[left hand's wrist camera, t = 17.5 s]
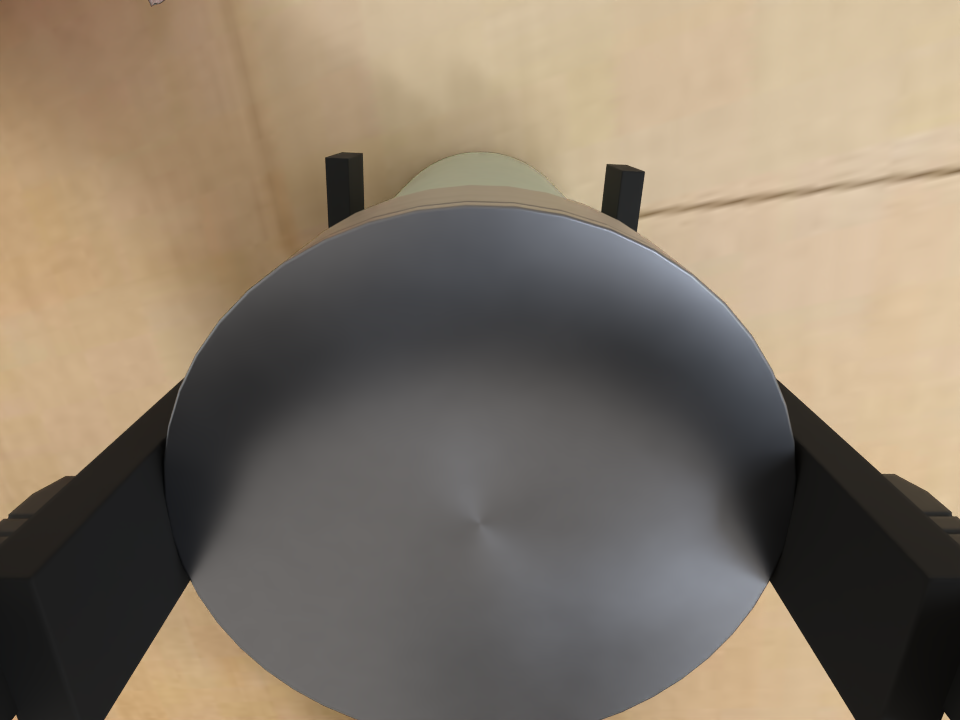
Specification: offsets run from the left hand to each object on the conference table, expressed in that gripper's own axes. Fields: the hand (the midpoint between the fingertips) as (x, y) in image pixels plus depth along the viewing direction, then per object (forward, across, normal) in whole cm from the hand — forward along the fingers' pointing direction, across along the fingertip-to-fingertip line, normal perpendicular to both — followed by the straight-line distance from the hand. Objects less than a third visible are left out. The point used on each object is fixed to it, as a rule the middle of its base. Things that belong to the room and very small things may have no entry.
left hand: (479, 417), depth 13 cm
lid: (-3, 0, 0) cm, 3 cm away
